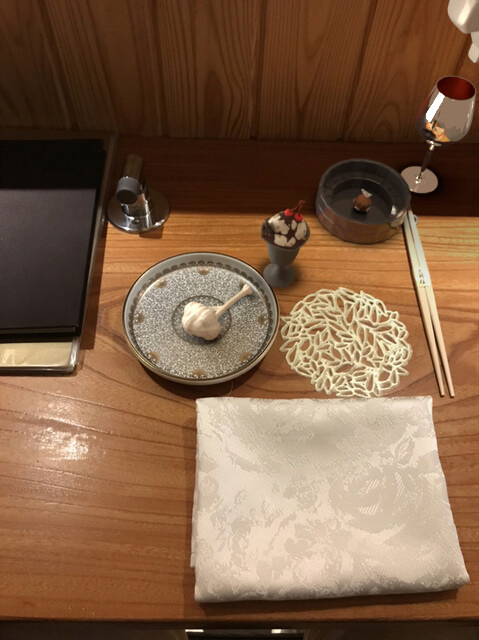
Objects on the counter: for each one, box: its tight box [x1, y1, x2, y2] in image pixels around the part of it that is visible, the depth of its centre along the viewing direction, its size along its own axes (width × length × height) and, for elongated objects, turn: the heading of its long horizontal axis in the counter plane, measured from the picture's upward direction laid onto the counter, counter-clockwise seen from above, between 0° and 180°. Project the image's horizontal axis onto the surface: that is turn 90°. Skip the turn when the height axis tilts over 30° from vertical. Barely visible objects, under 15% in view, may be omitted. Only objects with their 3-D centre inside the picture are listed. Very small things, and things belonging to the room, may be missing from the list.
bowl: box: [314, 158, 412, 244], centre depth 90 cm, size 14×14×5 cm
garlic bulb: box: [181, 283, 254, 341], centre depth 79 cm, size 7×5×12 cm
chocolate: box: [353, 189, 372, 212], centre depth 90 cm, size 3×2×4 cm
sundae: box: [260, 200, 311, 289], centre depth 78 cm, size 7×7×15 cm
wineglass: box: [400, 75, 477, 194], centre depth 89 cm, size 8×8×18 cm
